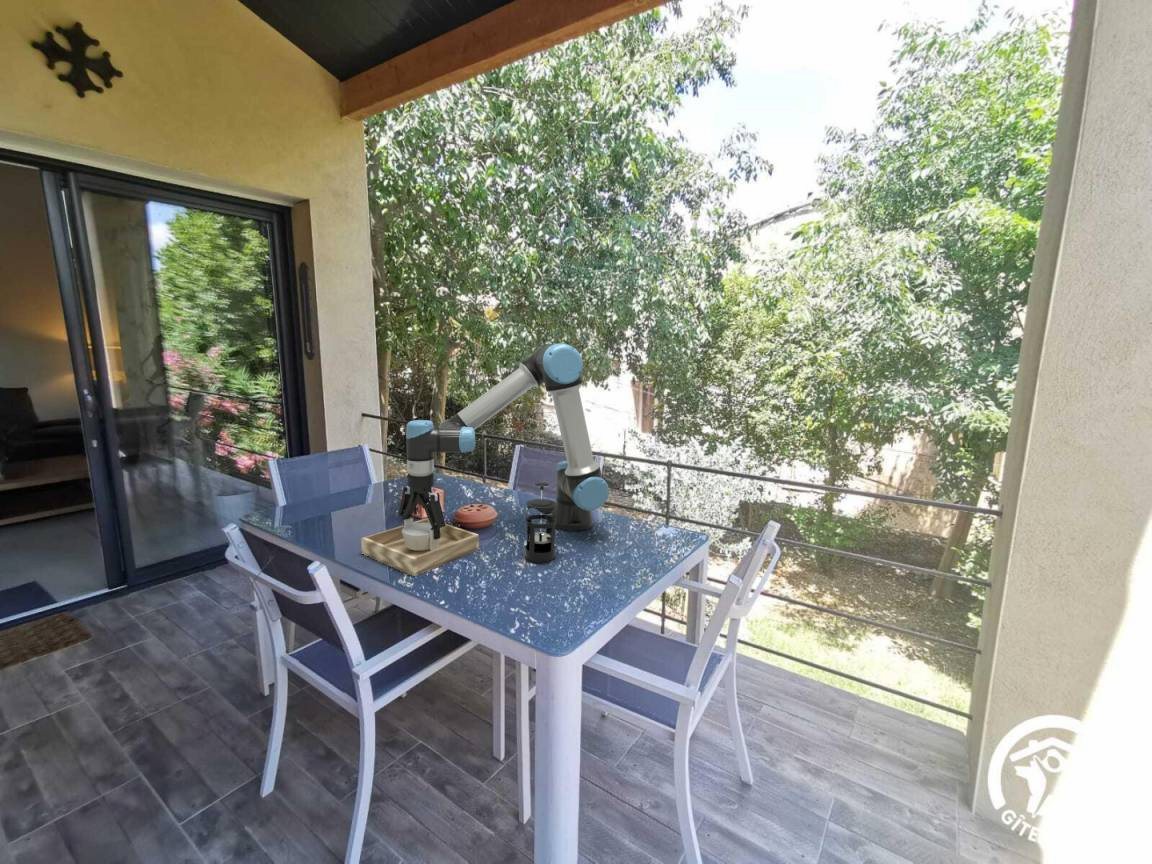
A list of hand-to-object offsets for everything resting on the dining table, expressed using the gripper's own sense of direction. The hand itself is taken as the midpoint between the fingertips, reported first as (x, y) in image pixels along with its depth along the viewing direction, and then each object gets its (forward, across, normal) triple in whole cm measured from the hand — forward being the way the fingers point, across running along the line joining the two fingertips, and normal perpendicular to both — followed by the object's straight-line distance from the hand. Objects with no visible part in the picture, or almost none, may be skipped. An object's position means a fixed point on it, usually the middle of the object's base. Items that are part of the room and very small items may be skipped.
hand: (421, 544), depth 153 cm
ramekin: (0, 0, 0) cm, 0 cm away
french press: (+3, +30, +20) cm, 36 cm away
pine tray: (+2, 0, 0) cm, 2 cm away
